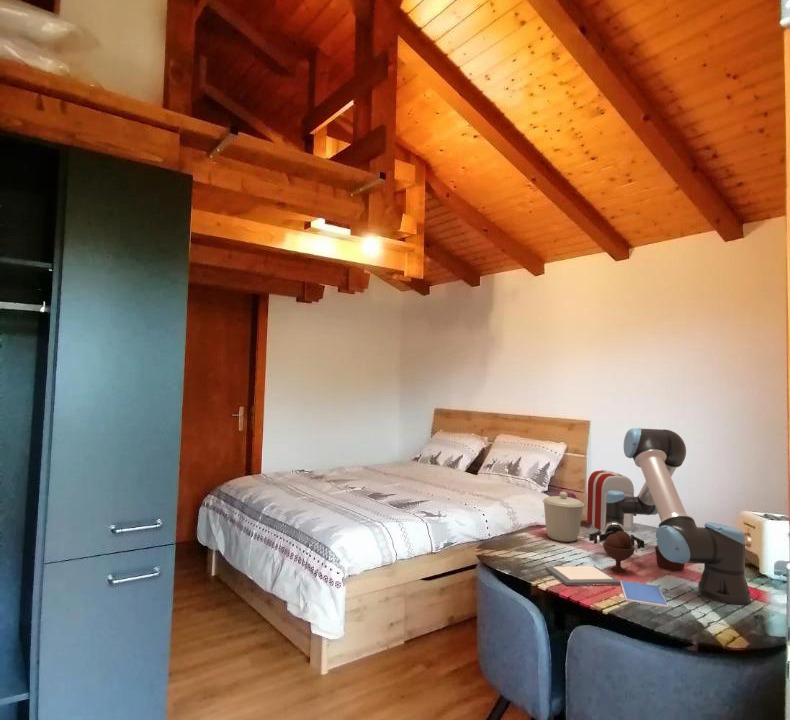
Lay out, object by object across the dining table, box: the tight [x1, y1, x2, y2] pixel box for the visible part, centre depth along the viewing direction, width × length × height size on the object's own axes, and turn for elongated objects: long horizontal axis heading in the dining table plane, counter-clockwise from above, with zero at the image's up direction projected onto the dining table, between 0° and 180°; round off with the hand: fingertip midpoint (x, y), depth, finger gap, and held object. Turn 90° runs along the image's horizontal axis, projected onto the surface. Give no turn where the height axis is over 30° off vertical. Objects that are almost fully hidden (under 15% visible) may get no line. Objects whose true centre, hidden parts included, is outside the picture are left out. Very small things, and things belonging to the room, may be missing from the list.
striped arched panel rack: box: [586, 469, 635, 532], centre depth 271 cm, size 16×18×27 cm
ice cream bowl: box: [602, 531, 635, 574], centre depth 203 cm, size 11×11×15 cm
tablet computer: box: [619, 580, 669, 608], centre depth 180 cm, size 19×13×1 cm, turn 162°
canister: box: [542, 491, 585, 543], centre depth 244 cm, size 18×18×21 cm
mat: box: [545, 565, 621, 586], centre depth 193 cm, size 16×20×1 cm
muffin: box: [654, 545, 686, 572], centre depth 209 cm, size 12×11×10 cm
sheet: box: [552, 565, 613, 581], centre depth 193 cm, size 13×16×1 cm
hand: (617, 545), depth 208 cm, fingers open, 13 cm apart
